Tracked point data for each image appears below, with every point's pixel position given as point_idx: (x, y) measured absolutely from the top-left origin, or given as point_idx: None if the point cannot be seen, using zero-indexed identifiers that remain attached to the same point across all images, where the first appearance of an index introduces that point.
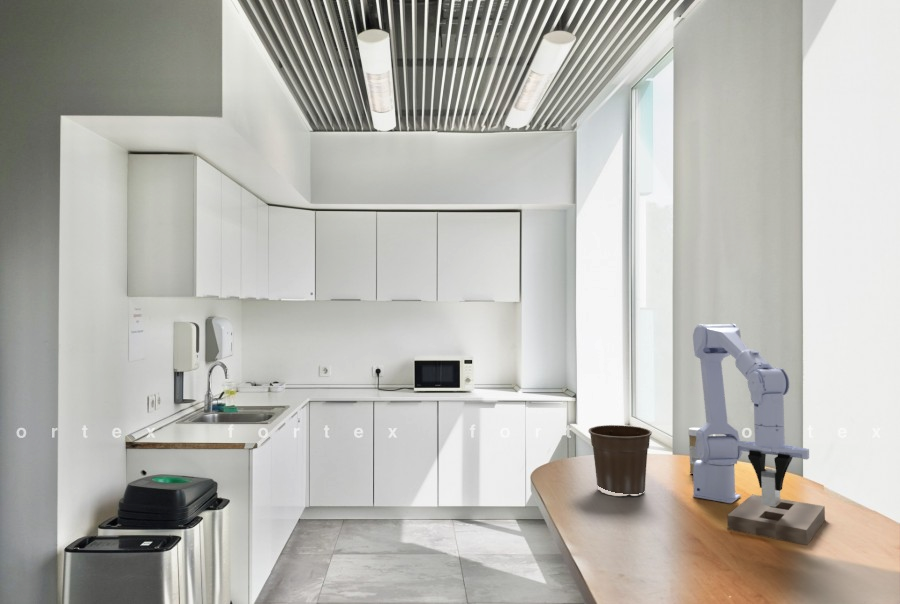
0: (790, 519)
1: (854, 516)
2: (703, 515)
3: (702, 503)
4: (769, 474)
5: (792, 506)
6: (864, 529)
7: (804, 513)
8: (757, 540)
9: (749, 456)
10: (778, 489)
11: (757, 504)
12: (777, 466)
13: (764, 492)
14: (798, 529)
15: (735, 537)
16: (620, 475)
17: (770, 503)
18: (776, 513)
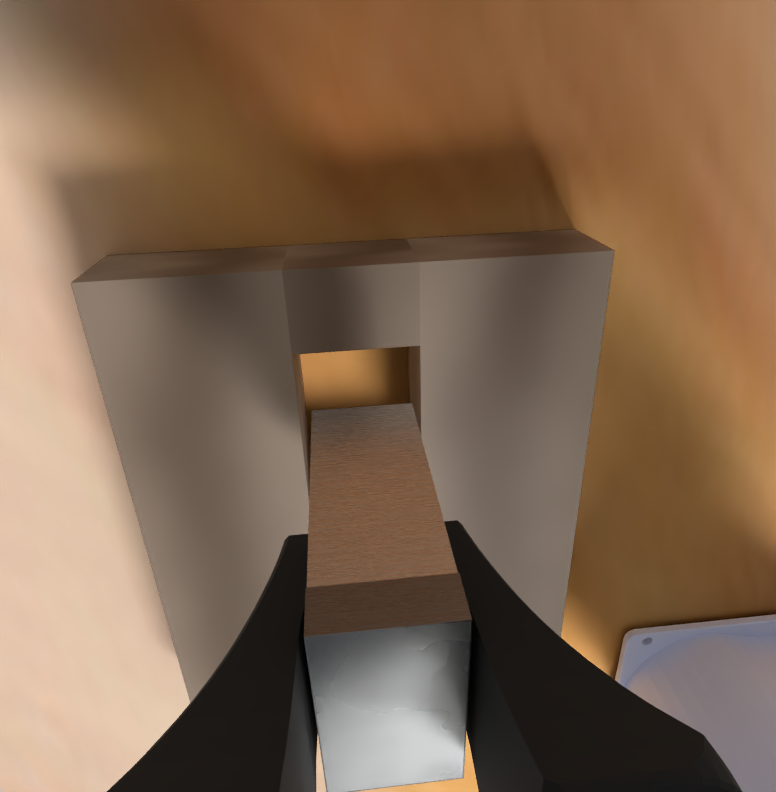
0: (245, 438)
1: None
2: (735, 384)
3: (755, 559)
4: (368, 610)
5: None
6: (32, 670)
7: (229, 590)
8: (367, 133)
9: (720, 777)
10: (295, 539)
11: None
12: (256, 733)
13: (403, 464)
14: (126, 276)
15: (499, 91)
16: None
17: (348, 418)
18: None
